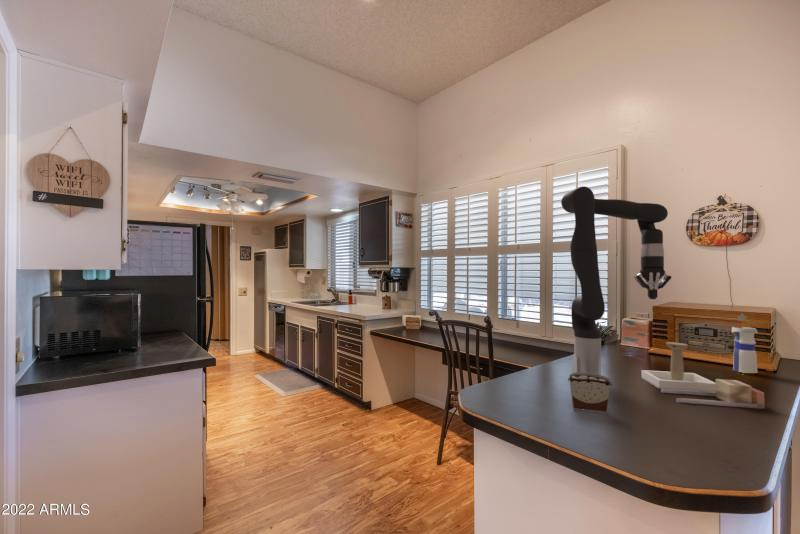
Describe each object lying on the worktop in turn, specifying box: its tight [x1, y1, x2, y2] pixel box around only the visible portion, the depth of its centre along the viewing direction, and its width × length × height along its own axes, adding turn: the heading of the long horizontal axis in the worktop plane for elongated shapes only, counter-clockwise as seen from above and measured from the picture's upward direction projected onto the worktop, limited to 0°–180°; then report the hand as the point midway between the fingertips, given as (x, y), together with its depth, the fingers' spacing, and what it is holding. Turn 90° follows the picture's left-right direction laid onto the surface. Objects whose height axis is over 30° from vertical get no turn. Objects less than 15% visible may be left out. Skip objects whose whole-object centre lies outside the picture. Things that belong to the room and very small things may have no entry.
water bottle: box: [731, 313, 759, 373], centre depth 154 cm, size 8×9×25 cm
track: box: [660, 387, 766, 410], centre depth 119 cm, size 24×11×5 cm, turn 78°
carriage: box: [715, 378, 753, 403], centre depth 118 cm, size 6×7×6 cm
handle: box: [666, 341, 689, 381], centre depth 136 cm, size 5×6×15 cm
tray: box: [641, 369, 716, 392], centre depth 135 cm, size 18×14×3 cm
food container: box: [567, 372, 614, 413], centre depth 112 cm, size 12×6×10 cm, turn 71°
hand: (652, 299), depth 142 cm, fingers closed
